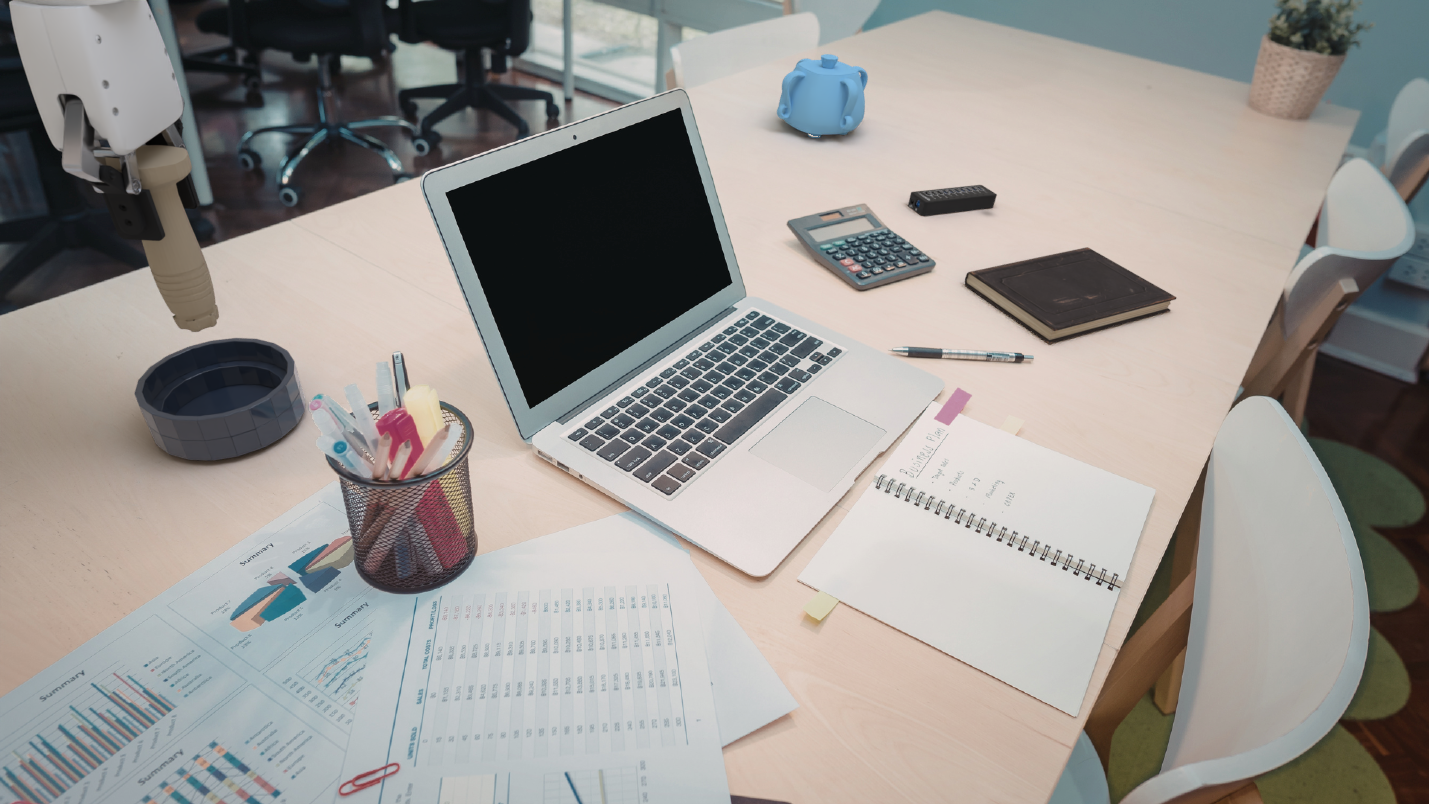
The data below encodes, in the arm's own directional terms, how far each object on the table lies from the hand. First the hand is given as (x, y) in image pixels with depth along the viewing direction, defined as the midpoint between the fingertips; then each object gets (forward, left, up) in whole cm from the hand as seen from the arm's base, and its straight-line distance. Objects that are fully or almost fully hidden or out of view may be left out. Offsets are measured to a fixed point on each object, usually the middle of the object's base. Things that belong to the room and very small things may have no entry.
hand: (161, 219), depth 65 cm
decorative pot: (+71, +95, -21) cm, 120 cm away
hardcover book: (+96, +32, -21) cm, 103 cm away
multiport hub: (+88, +61, -21) cm, 109 cm away
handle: (0, 0, -10) cm, 10 cm away
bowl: (0, 0, -21) cm, 21 cm away
